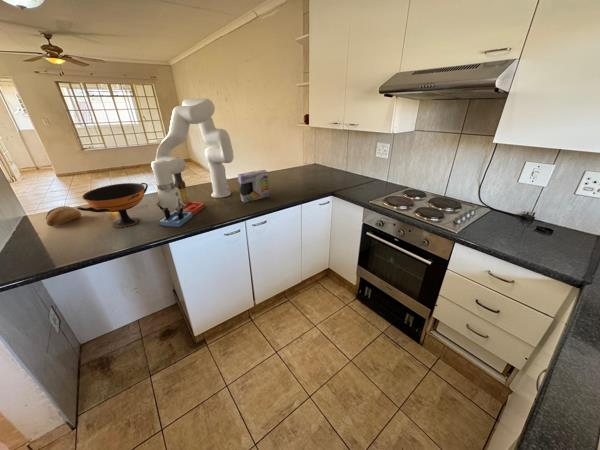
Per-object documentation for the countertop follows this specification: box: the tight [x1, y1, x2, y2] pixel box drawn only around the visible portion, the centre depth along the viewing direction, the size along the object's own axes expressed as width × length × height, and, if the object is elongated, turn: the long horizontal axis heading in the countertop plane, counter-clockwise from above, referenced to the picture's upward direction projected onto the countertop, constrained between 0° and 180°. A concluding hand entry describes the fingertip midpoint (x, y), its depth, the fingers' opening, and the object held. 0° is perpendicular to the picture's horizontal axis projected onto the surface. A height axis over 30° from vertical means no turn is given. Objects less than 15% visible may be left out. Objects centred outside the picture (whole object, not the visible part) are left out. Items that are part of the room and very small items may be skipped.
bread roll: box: [45, 205, 82, 227], centre depth 129 cm, size 10×15×8 cm, turn 163°
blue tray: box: [159, 210, 194, 228], centre depth 131 cm, size 13×11×2 cm
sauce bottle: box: [173, 172, 190, 204], centre depth 148 cm, size 7×6×20 cm
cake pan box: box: [237, 169, 270, 204], centre depth 155 cm, size 19×5×18 cm, turn 123°
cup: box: [76, 182, 149, 228], centre depth 125 cm, size 36×26×18 cm
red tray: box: [175, 201, 206, 216], centre depth 143 cm, size 13×11×2 cm
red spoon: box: [185, 205, 197, 210], centre depth 143 cm, size 9×4×2 cm, turn 171°
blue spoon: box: [170, 215, 179, 222], centre depth 131 cm, size 9×4×2 cm, turn 171°
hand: (174, 218), depth 129 cm, fingers open, 6 cm apart
